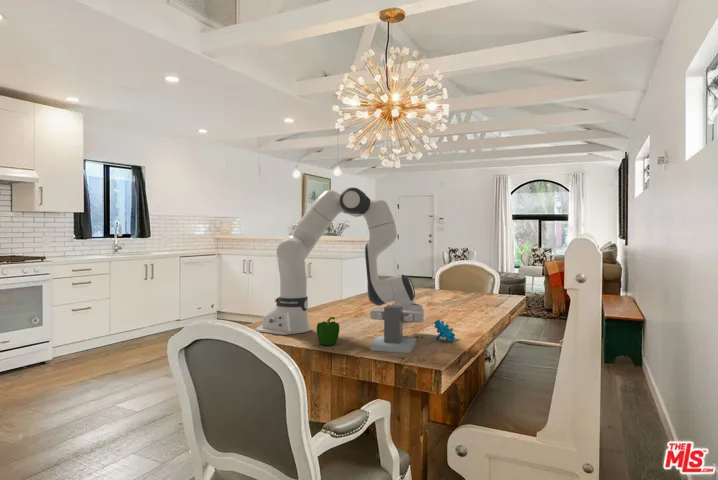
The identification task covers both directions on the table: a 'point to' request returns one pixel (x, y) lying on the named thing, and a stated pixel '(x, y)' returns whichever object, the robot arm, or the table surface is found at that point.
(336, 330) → the bell pepper
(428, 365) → the table surface
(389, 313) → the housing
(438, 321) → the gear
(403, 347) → the base plate
